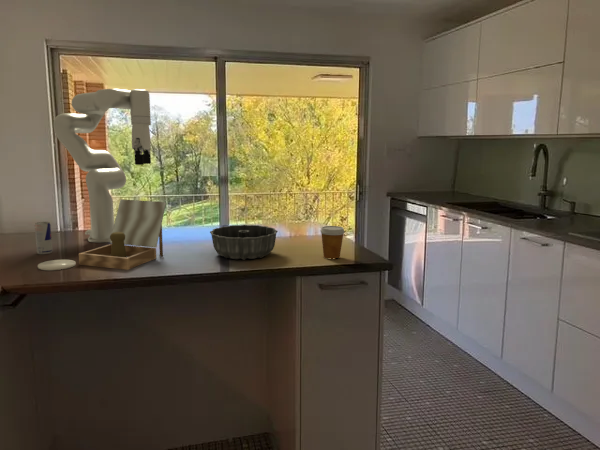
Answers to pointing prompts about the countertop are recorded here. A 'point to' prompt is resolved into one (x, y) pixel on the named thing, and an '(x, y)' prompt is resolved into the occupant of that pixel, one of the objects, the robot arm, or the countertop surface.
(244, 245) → the bundt pan
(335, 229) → the disposable coffee cup
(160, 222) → the cold frame
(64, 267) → the saucer
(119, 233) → the cork
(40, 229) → the energy drink
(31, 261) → the countertop surface
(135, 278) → the countertop surface
